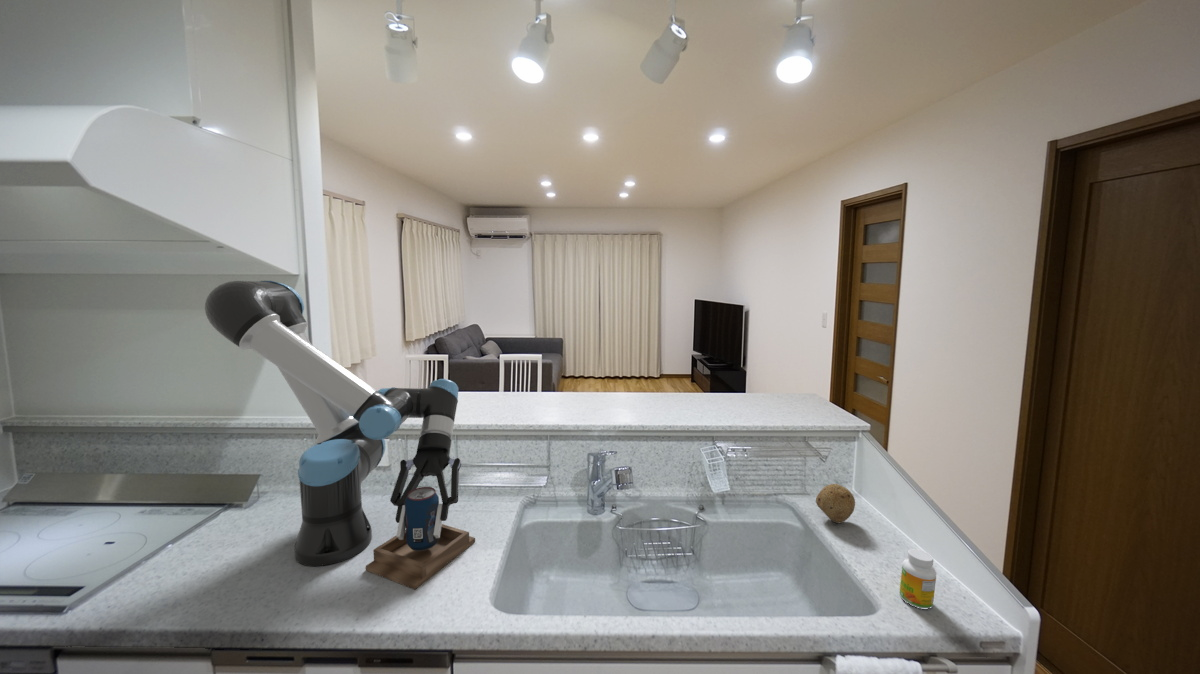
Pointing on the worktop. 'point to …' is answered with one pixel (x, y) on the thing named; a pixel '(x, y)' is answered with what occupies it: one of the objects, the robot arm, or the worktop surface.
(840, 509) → the brown rounded lump
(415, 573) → the wooden tray
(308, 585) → the worktop surface
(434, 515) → the soda can
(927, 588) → the supplement bottle
